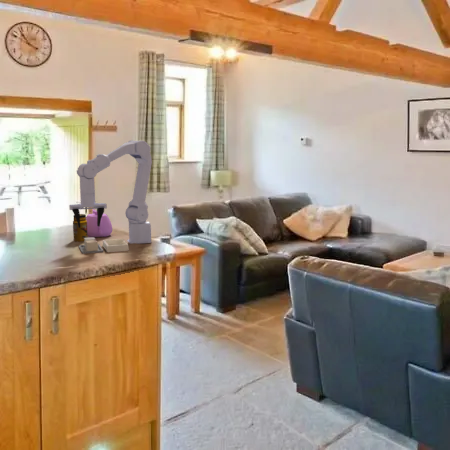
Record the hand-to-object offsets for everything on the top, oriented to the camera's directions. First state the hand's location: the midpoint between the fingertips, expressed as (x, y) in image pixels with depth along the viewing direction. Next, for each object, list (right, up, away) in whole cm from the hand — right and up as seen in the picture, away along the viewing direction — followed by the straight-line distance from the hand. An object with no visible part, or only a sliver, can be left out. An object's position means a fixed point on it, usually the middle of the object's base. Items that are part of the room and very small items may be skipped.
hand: (89, 226), depth 211 cm
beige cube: (+2, -10, -5) cm, 11 cm away
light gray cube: (0, -9, +1) cm, 9 cm away
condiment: (-9, -7, +17) cm, 20 cm away
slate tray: (+1, -10, -1) cm, 10 cm away
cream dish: (+11, -9, +1) cm, 14 cm away
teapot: (-4, -5, +31) cm, 31 cm away
